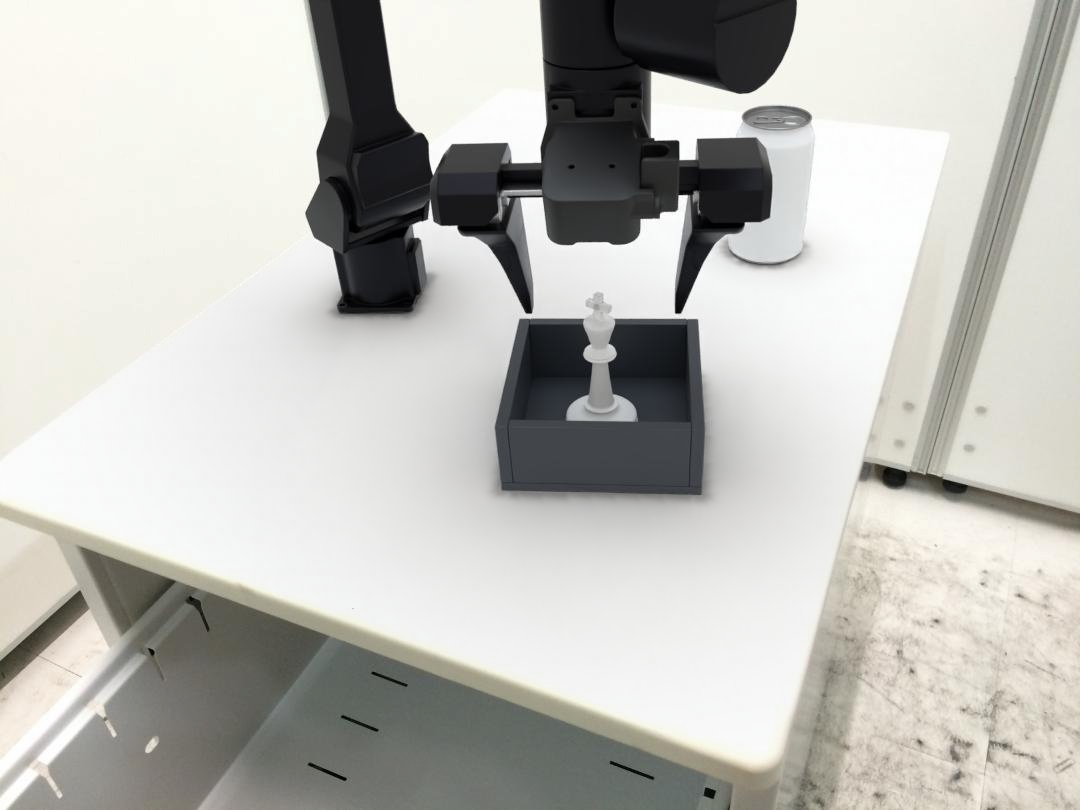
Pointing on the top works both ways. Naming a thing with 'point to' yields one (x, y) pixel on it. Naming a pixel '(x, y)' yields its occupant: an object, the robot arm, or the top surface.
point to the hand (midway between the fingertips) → (603, 310)
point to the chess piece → (600, 371)
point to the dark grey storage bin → (603, 446)
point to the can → (779, 183)
